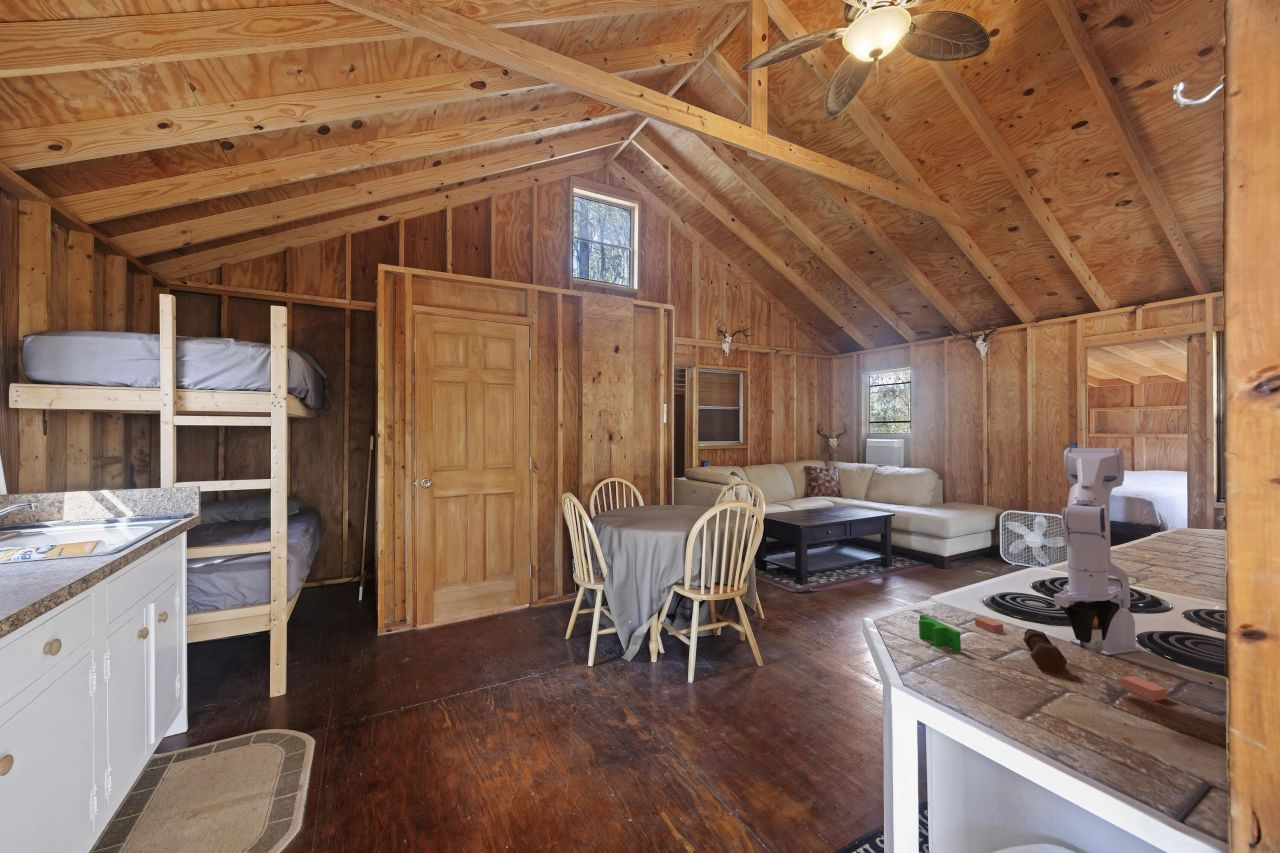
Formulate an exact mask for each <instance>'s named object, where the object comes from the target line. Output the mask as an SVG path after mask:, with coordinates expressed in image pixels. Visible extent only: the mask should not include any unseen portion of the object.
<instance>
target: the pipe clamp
mask: <svg viewBox="0 0 1280 853" xmlns="http://www.w3.org/2000/svg"><path fill="white" fill-rule="evenodd" d="M918 631H919V632H918V633H919V635H918V636H919V640H921V641H929V640H930V642H932V643H933V647H934V646H935V647H934V648H936V647H938V648H943V647H942V646H947V647H946V648H948V647H949V648H948V649H950V648H951V649H950V650H951V651H953V650H954V652H955V651H956V652H955V653H960V652H962V647H961V645H962V644H961V631H959V630H958V629H957V630H956V629H954V628H953V627H950V626H948V625H946V624H945V623H942V622H940V621H938V620H937V619H934V618H932V617H929V616H927V615H925V614H919V620H918Z"/></svg>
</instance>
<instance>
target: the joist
mask: <svg viewBox="0 0 1280 853" xmlns="http://www.w3.org/2000/svg"><path fill="white" fill-rule="evenodd" d="M974 625H975V626H976V627H978V628H979V629H980V628H981V629H982V630H985V631H988V632H989V633H992V634H996V633H1003V632H1004V624H1003V623H1001V622H998V621H996V620H993V619H990V618H989V617H986V616H981V617H974Z"/></svg>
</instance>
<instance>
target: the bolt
mask: <svg viewBox="0 0 1280 853" xmlns="http://www.w3.org/2000/svg"><path fill="white" fill-rule="evenodd" d="M1022 641H1023V642H1024V643H1025V645H1026V646H1027V648H1028V649H1029V651H1030V654H1029V655H1030V657H1031V659H1032V660H1033V662H1034V664H1036V667H1037V668H1038V669H1039V670H1041V671H1043V672H1044V671H1045V672H1050V673H1061V672H1062V671H1063V669H1064V668H1065V667H1066V665H1067V663H1068V660H1067V659H1066V658H1065V656H1064V654H1063V653H1062V652H1061V650H1060V649H1059V647H1058V646H1057V645H1054V644H1052V642H1051V640H1050V639H1049V637H1048V636H1047V635H1046V633H1045V632H1044V631H1040V630H1037V629H1034V628H1028V629H1026V630H1025V632H1024V636H1023V639H1022Z"/></svg>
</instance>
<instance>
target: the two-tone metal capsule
mask: <svg viewBox="0 0 1280 853" xmlns="http://www.w3.org/2000/svg"><path fill="white" fill-rule="evenodd" d="M1079 647H1080V648H1081V649H1083V650H1086V651H1089V652H1092V653H1093V652H1094V653H1100V652H1102V651H1103V650H1102V629H1101V628H1100V627H1099V623H1098V615H1097V614H1096V615H1095V618H1094V621H1093V625H1092V638H1091V642H1090V643H1085V642H1082V641H1080V645H1079Z"/></svg>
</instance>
